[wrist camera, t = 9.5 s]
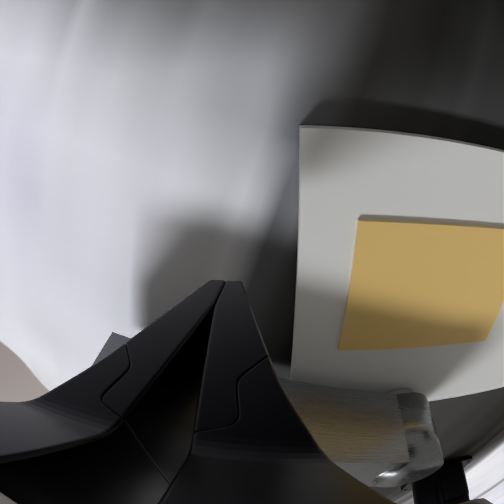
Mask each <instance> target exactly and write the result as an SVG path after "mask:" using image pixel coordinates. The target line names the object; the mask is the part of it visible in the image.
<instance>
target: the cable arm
mask: <svg viewBox="0 0 504 504" xmlns="http://www.w3.org/2000/svg"><path fill="white" fill-rule="evenodd" d="M130 339H131V338H128V337H125V336H122V335H119V334H116V333H113V332H112V334H111V336H110V337H109V339H108V340H107V342H106V344H105V345H104V347H103V348H102V350H101V352H100V353H99V355H98V357H97V358H96V360H95V362H94V363H93V365H94V364H96V363H98V362H99V361H100V360H102V359H103V358H105V357H106V356H108V355H109V354H111V353H112V352H113V351H115V350H116V349H117V348H119V347H120V346H122V345H123V344H126V342H127V341H128V340H130ZM93 365H92V366H93ZM279 380H280V382H281V385H282V387H283V388H284V390H285V392H286V394H287V396H288V397H289V399H290V401H291V403H292V404H293V406H294V407H295V409H296V411H297V412H298V414H299V415H300V417H301V419H302V420H303V422H304V423H305V425H306V427H307V428H308V430H309V431H310V433H311V434H312V436H313V438H314V439H315V441H316V442H317V444H318V445H319V446H320V448H321V449H322V450H323V452H324V453H325V454H326V455H327V456H328V458H329V459H330V460H331V461H332V462H333V463H335V464H336V465H337V466H338V467H340V468H341V469H343V470H344V471H346V472H347V473H349V474H350V475H352V476H353V477H355V478H356V479H358V480H359V481H361V482H362V483H364V484H365V485H367V486H377V487H395V486H401V485H405V484H409V483H412V482H415V481H418V480H421V479H423V478H425V477H427V476H429V475H431V474H433V473H434V472H436V471H437V470H438V469H440V468H441V467H442V465H443V463H444V460H443V456H442V452H441V447H440V443H439V439H438V435H437V432H436V428H435V424H434V420H433V417H432V413H431V410H430V406H429V403H428V399H427V397H426V396H425V395H423V394H421V393H417V392H406V393H400V394H386V393H376V392H367V391H359V390H351V389H343V388H336V387H329V386H323V385H317V384H311V383H305V382H299V381H293V380H288V379H283V378H279Z"/></svg>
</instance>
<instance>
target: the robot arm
mask: <svg viewBox="0 0 504 504" xmlns="http://www.w3.org/2000/svg"><path fill="white" fill-rule="evenodd" d="M472 459H473V458H472V456H468V457H464V458H460V459H457V460H453V461H449V462H444V463H443V465H442V467H441V468H440V469H438V470H437V471H436V472H434V473H433V474H431V475H429V476H427V477H425V478H423V479H421V480H418V481H415V482H412V483H409V484H405V485H403V486H402V487H401V491H407V490H413V497H414V504H492V503H491V502H489V501H488V500H486V499H484V498H480V499H474V500H470V499H469V490H468V485H467V481H466V476H465V472H464V467H465V466H466V465H467V464H468V463H469V462H470V461H472ZM0 504H396V503H394V502H392V501H391V500H389V499H387V498H386V497H384V496H383V495H381V494H379V493H378V492H376V491H375V490H373V489H371V488H370V487H368V486H367V485H365V484H364V483H362V482H361V481H359V480H358V479H356V478H355V477H353V476H352V475H350V474H349V473H347V472H346V471H344V470H343V469H341V468H340V467H338V466H337V465H336V464H335V463H333V462H332V461H331V460H330V459H329V458H328V456H327V455H326V454H325V453H324V452H323V450H322V449H321V448H320V446H319V445H318V444H317V442H316V441H315V439H314V438H313V436H312V434H311V433H310V431H309V430H308V428H307V427H306V425H305V423H304V422H303V420H302V419H301V417H300V415H299V414H298V412H297V411H296V409H295V407H294V406H293V404H292V403H291V401H290V399H289V397H288V396H287V394H286V392H285V390H284V388H283V387H282V385H281V382H280V380H279V378H278V376H277V373H276V371H275V369H274V366H273V364H272V361H271V359H270V357H269V354H268V351H267V349H266V346H265V343H264V341H263V338H262V335H261V333H260V330H259V327H258V325H257V322H256V319H255V317H254V314H253V311H252V309H251V306H250V303H249V300H248V298H247V295H246V292H245V290H244V287H243V284H242V282H241V281H226V282H225V281H223V280H210V281H209V282H207V283H206V284H205V285H203V286H202V287H201V288H199V289H198V290H197V291H195V292H194V293H192V294H191V295H190V296H188V297H187V298H186V299H184V300H183V301H182V302H180V303H179V304H177V305H176V306H175V307H173V308H172V309H171V310H169V311H168V312H167V313H165V314H164V315H162V316H161V317H160V318H158V319H157V320H156V321H154V322H153V323H152V324H150V325H149V326H148V327H146V328H145V329H143V330H142V331H141V332H139V333H138V334H137V335H135V336H134V337H133V338H131V339H130V340H128V341H127V342H126V344H123V345H122V346H120V347H119V348H117V349H116V350H115V351H113V352H112V353H111V354H109V355H108V356H106V357H105V358H103V359H102V360H100V361H99V362H98V363H96V364H94V365H93V366H91V367H90V368H88V369H86V370H85V371H83V372H82V373H80V374H78V375H77V376H75V377H73V378H72V379H70V380H68V381H67V382H65V383H63V384H61V385H60V386H58V387H56V388H55V389H53V390H51V391H50V392H48V393H46V394H44V395H43V396H41V397H39V398H36V399H34V400H30V401H25V402H0Z"/></svg>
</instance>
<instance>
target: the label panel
mask: <svg viewBox="0 0 504 504" xmlns="http://www.w3.org/2000/svg"><path fill="white" fill-rule="evenodd" d="M290 380H293V381H299V382H305V383H311V384H317V385H323V386H329V387H336V388H343V389H351V390H359V391H367V392H376V393H386V394H400V393H406V392H417V393H421V394H423V395H425V396H426V397H427V399H428V401H433V400H440V399H446V398H452V397H458V396H463V395H468V394H474V393H478V392H483V391H488V390H492V389H496V388H500V387H504V150H501V149H497V148H493V147H488V146H483V145H479V144H474V143H469V142H464V141H458V140H453V139H447V138H441V137H434V136H428V135H421V134H413V133H406V132H397V131H388V130H378V129H367V128H354V127H338V126H316V125H299V210H298V245H297V271H296V293H295V311H294V328H293V344H292V358H291V371H290Z"/></svg>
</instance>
